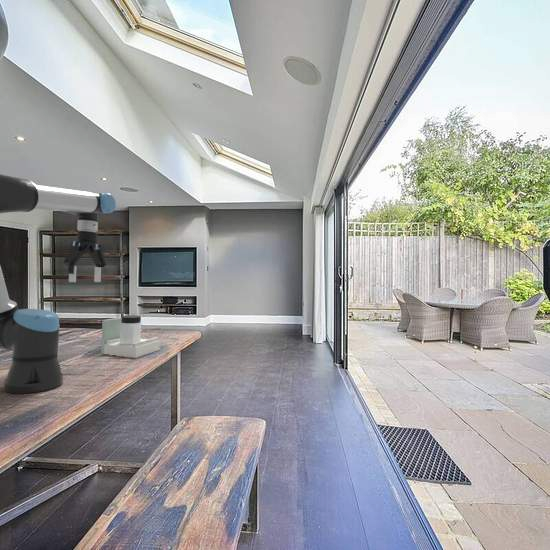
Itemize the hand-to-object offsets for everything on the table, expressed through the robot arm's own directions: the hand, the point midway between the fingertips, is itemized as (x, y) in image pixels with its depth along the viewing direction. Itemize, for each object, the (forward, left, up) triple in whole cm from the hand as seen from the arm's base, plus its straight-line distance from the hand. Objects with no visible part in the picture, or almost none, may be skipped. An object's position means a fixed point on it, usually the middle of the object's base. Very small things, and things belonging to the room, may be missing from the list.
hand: (85, 282), depth 146 cm
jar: (+15, -12, -27) cm, 33 cm away
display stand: (+17, -12, -32) cm, 38 cm away
